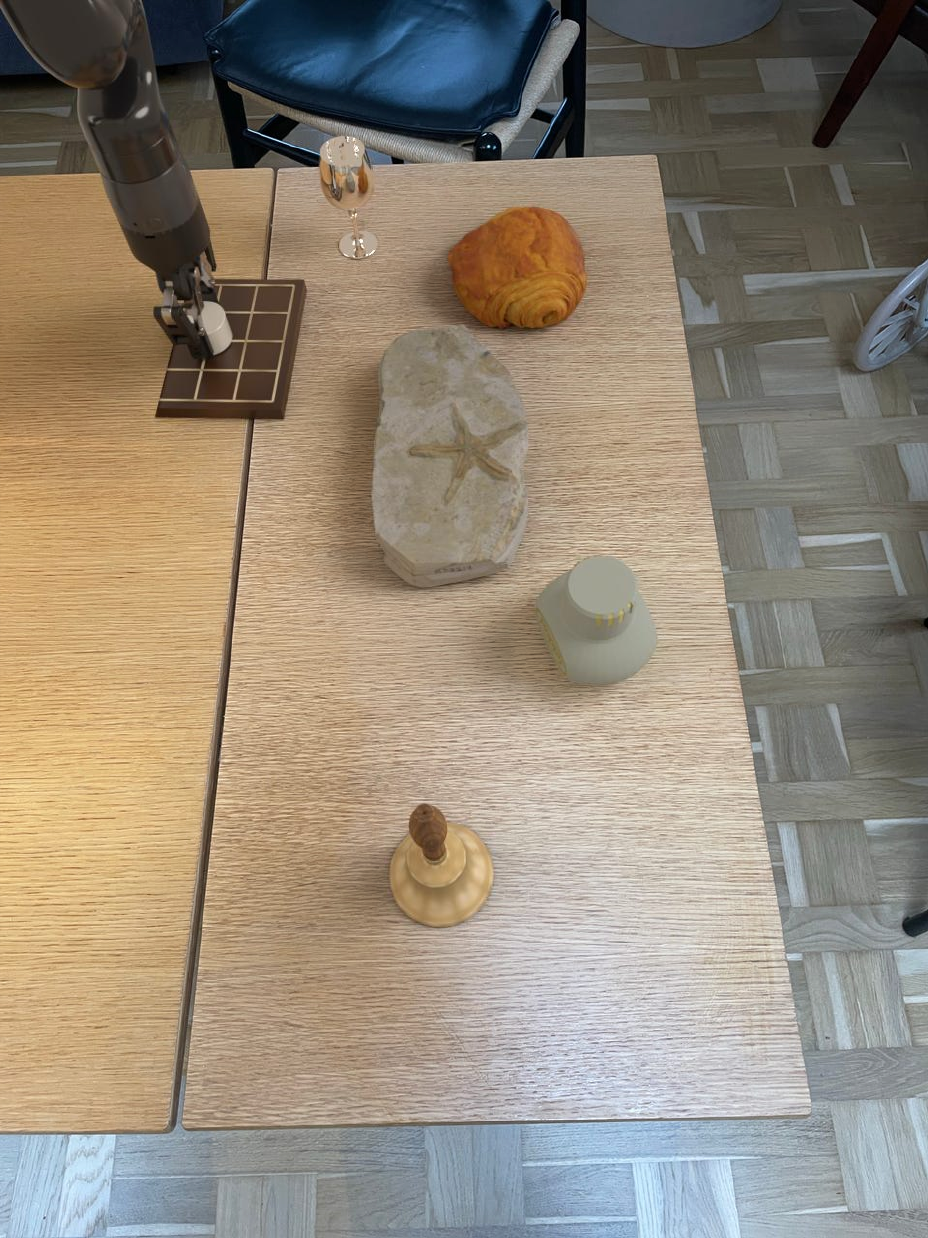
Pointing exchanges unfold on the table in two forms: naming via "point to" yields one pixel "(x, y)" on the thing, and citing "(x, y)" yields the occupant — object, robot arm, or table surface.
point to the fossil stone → (448, 459)
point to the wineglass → (348, 188)
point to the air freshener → (596, 622)
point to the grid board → (240, 356)
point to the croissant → (520, 269)
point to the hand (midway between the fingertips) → (208, 336)
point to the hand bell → (440, 870)
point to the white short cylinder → (216, 326)
